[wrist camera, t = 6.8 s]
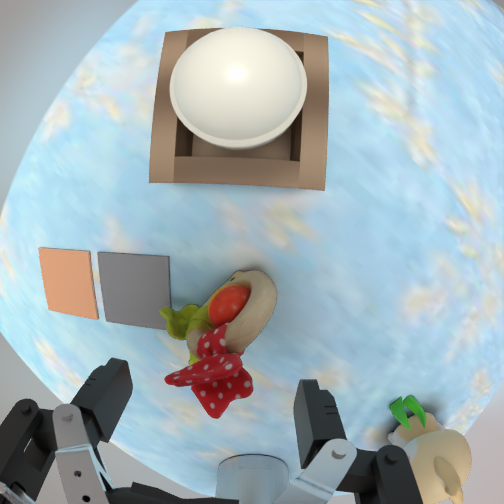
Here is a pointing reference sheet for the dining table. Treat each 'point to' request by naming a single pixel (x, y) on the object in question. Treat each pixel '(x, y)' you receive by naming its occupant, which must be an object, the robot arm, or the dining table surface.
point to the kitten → (431, 452)
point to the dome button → (238, 88)
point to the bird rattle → (221, 338)
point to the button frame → (252, 160)
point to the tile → (68, 282)
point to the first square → (135, 288)
